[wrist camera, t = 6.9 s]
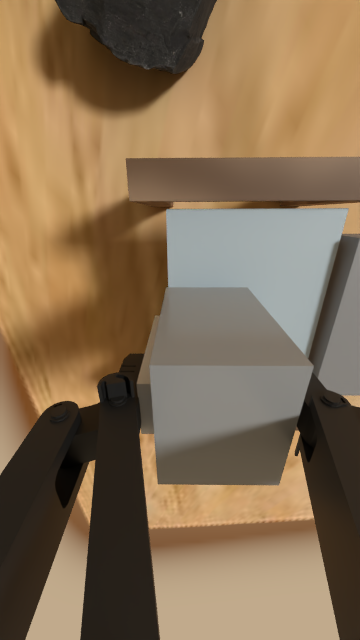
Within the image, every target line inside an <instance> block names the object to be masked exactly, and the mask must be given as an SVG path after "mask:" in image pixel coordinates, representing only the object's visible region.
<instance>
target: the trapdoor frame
mask: <svg viewBox="0 0 360 640" xmlns="http://www.w3.org/2000/svg"><path fill="white" fill-rule="evenodd" d="M126 167H127V179H128V191H129V201H131V202H135V203H140V204H144V205H148V206H152V207H173V202H220V201H281V205H280V206H311V205H326V204H342V203H357V202H360V157H270V158H126ZM295 430H298V428H297V426H296V429H295Z"/></svg>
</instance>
